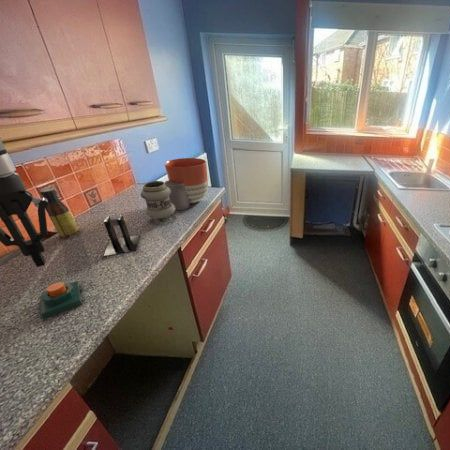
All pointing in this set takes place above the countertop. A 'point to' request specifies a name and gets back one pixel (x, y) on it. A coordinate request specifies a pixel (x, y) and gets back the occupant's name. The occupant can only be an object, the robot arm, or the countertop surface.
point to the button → (56, 289)
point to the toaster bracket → (120, 244)
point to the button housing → (61, 300)
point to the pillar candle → (178, 195)
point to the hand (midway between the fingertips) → (41, 263)
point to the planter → (189, 176)
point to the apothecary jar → (158, 200)
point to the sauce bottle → (59, 214)
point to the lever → (115, 222)
